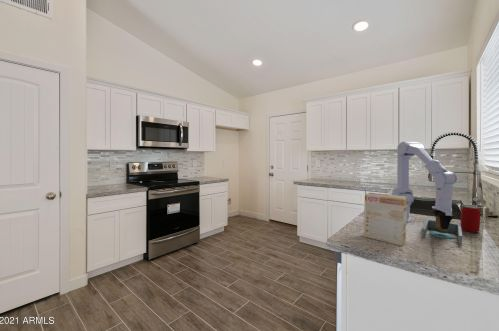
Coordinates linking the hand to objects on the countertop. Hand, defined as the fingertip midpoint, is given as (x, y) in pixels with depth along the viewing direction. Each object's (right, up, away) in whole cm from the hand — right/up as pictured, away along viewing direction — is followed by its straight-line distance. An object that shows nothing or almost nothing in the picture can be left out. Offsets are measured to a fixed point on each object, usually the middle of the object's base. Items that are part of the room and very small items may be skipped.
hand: (442, 227), depth 106 cm
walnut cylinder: (0, -2, 0) cm, 2 cm away
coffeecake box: (-29, -4, -5) cm, 30 cm away
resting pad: (0, -4, 0) cm, 4 cm away
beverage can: (+19, -4, +6) cm, 20 cm away
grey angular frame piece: (0, -4, 0) cm, 4 cm away
